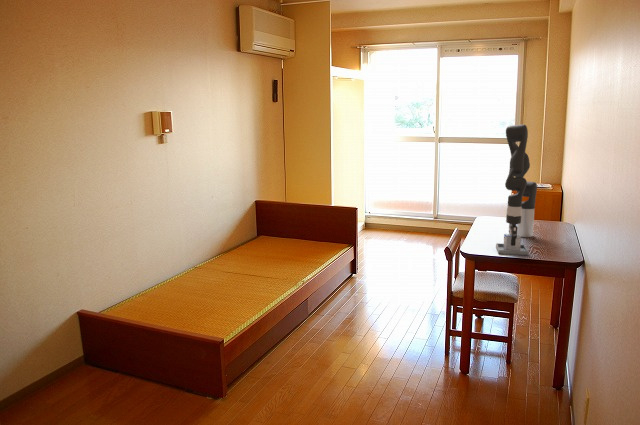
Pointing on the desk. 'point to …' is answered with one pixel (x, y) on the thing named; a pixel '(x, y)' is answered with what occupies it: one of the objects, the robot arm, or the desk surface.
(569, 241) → the desk surface
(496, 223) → the desk surface
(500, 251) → the tray
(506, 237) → the medicine box
